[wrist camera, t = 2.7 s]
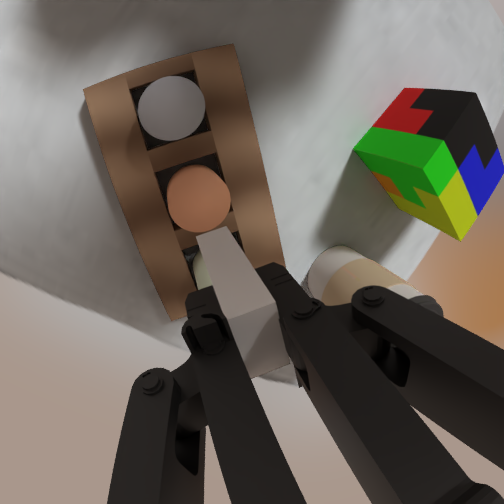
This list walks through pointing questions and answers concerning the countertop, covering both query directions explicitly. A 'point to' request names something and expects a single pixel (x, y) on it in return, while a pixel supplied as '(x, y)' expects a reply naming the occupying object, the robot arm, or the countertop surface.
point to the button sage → (201, 271)
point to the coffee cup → (357, 279)
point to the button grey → (171, 108)
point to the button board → (179, 151)
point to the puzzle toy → (435, 157)
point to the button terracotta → (197, 198)
